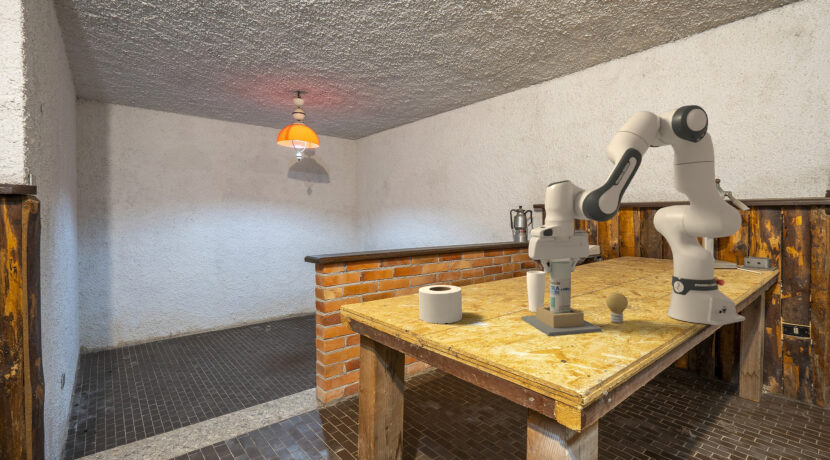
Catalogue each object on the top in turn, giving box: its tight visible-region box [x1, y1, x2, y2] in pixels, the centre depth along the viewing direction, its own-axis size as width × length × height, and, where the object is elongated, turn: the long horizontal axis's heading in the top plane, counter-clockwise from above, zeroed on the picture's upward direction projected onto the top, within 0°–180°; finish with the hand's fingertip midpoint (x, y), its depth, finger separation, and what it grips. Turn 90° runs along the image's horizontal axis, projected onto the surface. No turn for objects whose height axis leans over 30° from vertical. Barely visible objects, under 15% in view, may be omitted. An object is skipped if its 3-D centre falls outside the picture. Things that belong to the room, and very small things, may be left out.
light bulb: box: [605, 292, 629, 324], centre depth 123 cm, size 6×6×10 cm
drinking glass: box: [526, 270, 546, 314], centre depth 138 cm, size 7×7×15 cm
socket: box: [520, 305, 603, 337], centre depth 121 cm, size 18×18×5 cm
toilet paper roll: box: [418, 284, 463, 325], centre depth 132 cm, size 16×15×11 cm
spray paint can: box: [549, 260, 572, 314], centre depth 121 cm, size 6×6×20 cm
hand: (559, 272), depth 121 cm, fingers open, 7 cm apart
